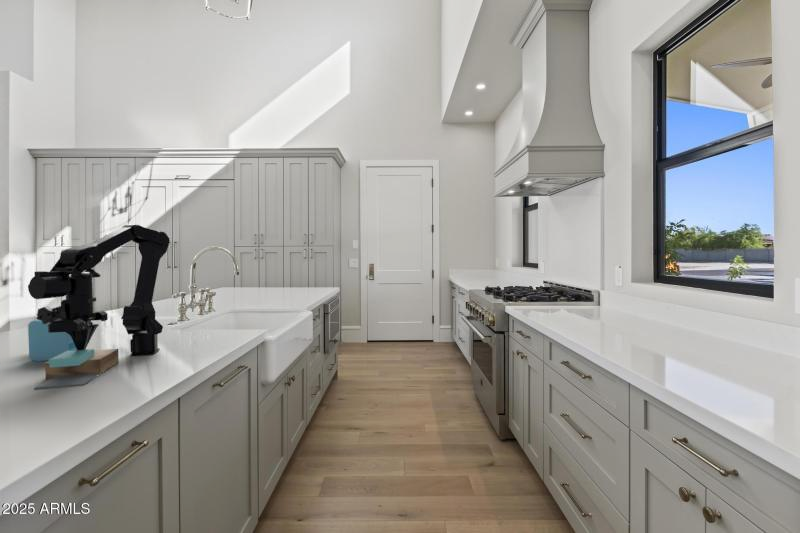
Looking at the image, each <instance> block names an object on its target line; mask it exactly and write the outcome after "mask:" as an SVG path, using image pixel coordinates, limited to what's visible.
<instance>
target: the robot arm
mask: <svg viewBox="0 0 800 533" xmlns="http://www.w3.org/2000/svg"><path fill="white" fill-rule="evenodd" d="M130 242H133V243H135V244H138V246H137V247H138V252H139V254H140V255H141V261H140V266H139V271H138V277H137V280H136V281H137V282H136V286H135V291H134V297H133V301H132V302H131V304H130V305H124V306H123V311H122V312H123V314H122V316H121V318H120V319H121V320H122V326H123V327H124V328H125V331H126V333H127V335H131V339H130V344H129V345H130V356H145V355H155V354H156V353H157V352H158V351H160V347H159V345H158V343H159V342H158V335H159V334H162V332H163V329H164V326H163V325H162V324H161V323H160V322H159V321H158V320H157V319H156V310H155V306H154V305H153V298H154V293H155V287H156V282H157V277H158V270H159V266H160V265H159V264H160V260H161V258H162V257H163V256H164V255H165V254H166V253H167V251H168V248H169V245H170V242H171V240H170V237H169V236H168V234H167V233H166V232H164V231H157V230H155V229H151V228H147V227H144V226H141V225H139V224H135V223H134V224H133V223H132V224H125V225H123V226H122V227H119V228H118V229H117V230H115V231H112V232H110V233H108V234H106V235H103V236H102V237H101V238H98V239H96V240H94V241H92V242H89V243H86V244H85V243H84V244H81V245H76V246H72V247H69V248H66V249H64V250H62V251H61V252H60V256H59V258H58V260H57V261H56V262H55V264H54V265H53V266H52V267H51V269H50V271H44V270H43V271H38V270H37V271H34V276H32V278H31V279H30V281H29V284H28V285H27V290H28V293H29V294H30V296H31V298H33V299H34V300H41V299H42V300H43V299H44V300H45V299H52V298H53V299H54V298H61V297H65V299H62V300H61V302H60V306H56V307H53V308H52V307H50V306H44V307H40V308H37V313H36V315H37V317H36V320H41V321H42V323H43V324H46V323H48V322H49V323H50V322H51V323H50V324H48V332H49V333H53V332H66V333H68V334H69V335H70V336H71V338H72V340H73V342H74V344H75V347H76V349H77V350H86V349H87V347H88V345H89V344H90V341H91V339H92V337H93V335H94V333H95V331H96V330H97V328H98V327H99V324H98V323H97V324H96V323H93V321H101V322H105V321H108V318H109V317H108V316H109V315H108V312H106V311H105V310H94V302H97V297H94V289H93V278H94V279H95V278H100V277H101V274H100V273H98V272H97V271H96V270H94V268H95V267H96V266H97V265H98V264H100V263H101V262H102V261H103V258H104V257H105V256H106V255H108V254H109V253H111V252H113V251H115V250H116V249H118V248H120V247H122V246H124V245H126V244H127V243H130Z"/></svg>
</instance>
